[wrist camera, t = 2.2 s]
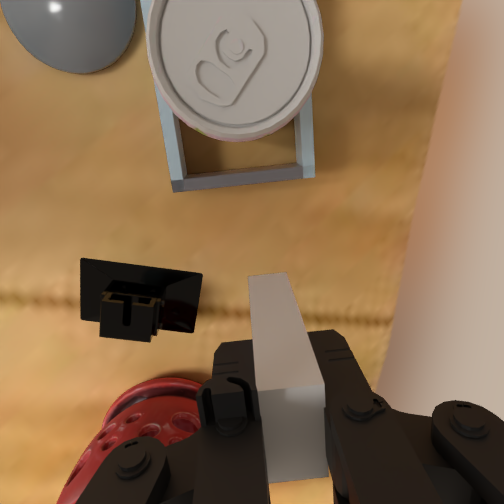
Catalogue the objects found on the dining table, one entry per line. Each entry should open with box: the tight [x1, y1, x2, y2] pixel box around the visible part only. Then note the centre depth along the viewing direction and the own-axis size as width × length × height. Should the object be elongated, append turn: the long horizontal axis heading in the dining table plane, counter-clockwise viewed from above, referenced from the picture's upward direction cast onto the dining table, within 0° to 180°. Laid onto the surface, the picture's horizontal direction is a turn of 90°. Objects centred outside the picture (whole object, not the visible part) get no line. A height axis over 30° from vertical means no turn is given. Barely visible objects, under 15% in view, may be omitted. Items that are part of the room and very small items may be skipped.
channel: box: [140, 0, 315, 193], centre depth 23 cm, size 10×16×2 cm, turn 6°
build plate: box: [80, 258, 203, 343], centre depth 28 cm, size 12×7×5 cm, turn 80°
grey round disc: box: [0, 0, 137, 74], centre depth 23 cm, size 8×8×1 cm
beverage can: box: [146, 0, 324, 142], centre depth 18 cm, size 6×6×15 cm
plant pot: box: [56, 378, 202, 504], centre depth 28 cm, size 13×13×12 cm
